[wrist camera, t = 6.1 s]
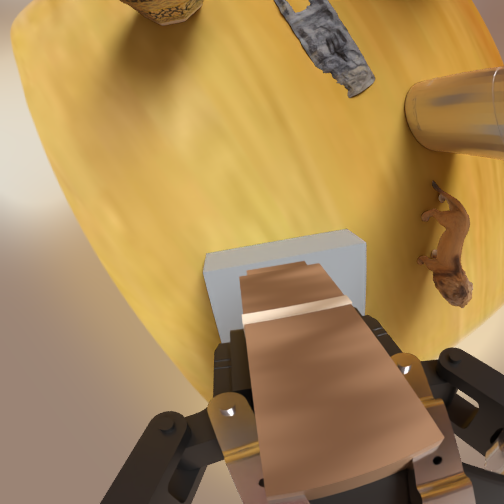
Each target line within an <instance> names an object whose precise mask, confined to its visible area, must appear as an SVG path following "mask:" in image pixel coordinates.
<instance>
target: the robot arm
mask: <svg viewBox="0 0 504 504" xmlns="http://www.w3.org/2000/svg"><path fill="white" fill-rule="evenodd" d="M405 112H406V118H407V122H408V125H409V127H410V130H411V131H412V133H413V135H414V137H415V138H416V139H417V140H418V142H419V143H420V144H422V145H423V146H424V147H426V148H427V149H430V150H433V151H442V152H452V153H459V154H467V155H475V156H481V157H488V158H494V159H500V160H504V66H503V67H496V68H488V69H482V70H476V71H470V72H464V73H459V74H454V75H449V76H444V77H439V78H435V79H430V80H426V81H422V82H419V83H416V84H414V85H413V86H412V87H411V88H410V90H409V92H408V94H407V97H406V102H405ZM354 308H355V310H356V311H357V312H358V314H359V315H360V316H361V318H362V319H363V320H364V322H365V323H366V324H367V326H368V327H369V328H370V330H371V331H372V333H373V334H374V335H375V337H376V338H377V339H378V341H379V342H380V343H381V345H382V346H383V348H384V349H385V350H386V352H387V353H388V355H389V356H390V357H391V359H392V360H393V362H394V363H395V364H396V366H397V367H398V369H399V370H400V371H401V373H402V374H403V376H404V377H405V379H406V380H407V382H408V383H409V384H410V386H411V387H412V389H413V390H414V392H415V393H416V395H417V396H418V398H419V399H420V401H421V402H422V404H423V405H424V407H425V408H426V410H427V411H428V413H429V414H430V416H431V417H432V419H433V420H434V422H435V423H436V425H437V427H438V428H439V430H440V431H441V433H442V434H443V436H444V439H443V441H442V442H441V444H440V445H438V446H436V447H434V448H432V449H431V450H429V451H427V452H425V453H423V454H421V455H419V456H417V457H414V458H413V459H412V460H411V461H410V463H409V464H408V466H407V468H406V469H404V470H401V471H399V472H397V473H394V474H392V475H390V476H387V477H385V478H382V479H379V480H377V481H374V482H371V483H369V484H366V485H363V486H360V487H357V488H354V489H351V490H347V491H344V492H341V493H337V494H334V495H330V496H326V497H322V498H318V499H314V500H309V501H308V500H307V498H306V497H305V495H299V496H294V497H289V498H283V499H277V500H270V501H268V500H267V498H266V493H265V485H264V478H263V471H262V464H261V457H260V449H259V442H258V434H257V426H256V418H255V411H254V403H253V395H252V386H251V378H250V370H249V361H248V353H247V344H246V338H245V333H244V328H243V329H237V330H230V342H227V343H220V344H219V345H218V347H217V349H216V350H215V352H214V389H213V399H212V400H211V401H210V402H209V404H208V407H207V408H206V409H204V410H203V411H201V412H199V413H196V414H194V415H190V416H187V417H183V415H181V414H180V413H177V412H173V411H170V412H169V411H168V412H163V413H160V414H158V415H156V416H155V417H154V418H153V419H152V420H151V421H150V423H149V424H148V426H147V428H146V429H145V431H144V433H143V435H142V436H141V437H140V439H139V441H138V442H137V444H136V446H135V447H134V449H133V451H132V452H131V454H130V455H129V457H128V459H127V460H126V462H125V464H124V465H123V467H122V469H121V470H120V472H119V473H118V475H117V477H116V478H115V480H114V482H113V483H112V485H111V487H110V488H109V490H108V492H107V493H106V495H105V496H104V498H103V500H102V501H101V503H100V504H191V503H192V500H193V498H194V496H195V494H196V491H197V489H198V487H199V484H200V482H201V479H202V477H203V475H204V472H205V470H206V467H207V465H209V464H212V463H215V462H218V461H221V460H225V462H226V465H227V467H228V470H229V472H230V475H231V477H232V479H233V482H234V484H235V486H236V489H237V491H238V493H239V495H240V498H241V500H242V502H243V504H504V375H503V374H501V373H500V372H498V371H496V370H495V369H493V368H492V367H490V366H488V365H487V364H485V363H483V362H482V361H480V360H478V359H477V358H475V357H473V356H471V355H470V354H468V353H466V352H465V351H463V350H461V349H458V348H447V349H445V350H443V351H442V352H441V353H440V356H439V359H438V360H430V361H420V360H419V359H418V358H417V357H416V356H414V355H412V354H409V353H403V352H402V351H401V350H400V349H399V347H398V346H397V345H396V344H395V342H394V341H393V340H392V338H391V337H390V336H389V335H388V334H387V332H386V331H385V330H384V328H382V326H381V325H380V323H379V322H378V321H377V320H376V319H374V318H372V317H371V316H369V315H366V316H362V314H361V313H360V312H359V311H358V309H357V308H356V307H354ZM458 389H459V390H460V391H462V392H464V393H465V394H466V395H468V396H469V397H471V398H473V399H474V400H475V401H476V402H477V403H478V404H479V408H477V407H475V406H474V405H472V404H471V403H469V402H468V401H466V400H465V399H463V398H462V397H460V396H459V395H458V394H456V392H457V390H458ZM454 434H456V435H457V436H458V437H459V438H461V439H462V440H463V441H465V442H466V443H467V444H469V445H470V446H472V447H473V448H474V449H476V450H477V451H478V452H479V453H481V454H482V455H483V456H485V460H486V462H485V465H484V468H485V469H482V468H478V467H475V466H472V465H469V464H466V463H463V462H461V458H460V454H459V450H458V447H457V443H456V439H455V436H454Z"/></svg>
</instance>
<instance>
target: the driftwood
mask: <svg viewBox="0 0 504 504" xmlns="http://www.w3.org/2000/svg"><path fill="white" fill-rule="evenodd" d="M274 1H275V2H276V4H277V5H278V7H279V8H280V11H281V13H282V14H283V15H284V17H285V18H286V20H287V21H288V22H289V24H290V26H291V27H292V29H293V31H294V33H295V34H296V36H297V37H298V38H299V39H300V42H301V44H302V45H303V47H304V49H305V50H306V52H307V54H308V55H309V57H310V59H311V60H312V61H313V62H314V64H315V66H316V67H317V68H319V69H321V70H323V73H331V74H332V77H333V78H334V79H336V80H337V81H338V82H337V83H340V84H341V85H344V86H345V88H346V89H348V97H349V98H351V97H352V96H354V95H357V94H359V93H361V92H362V91H364V90H365V89H366V88H367V87H369V86H370V85H371V84H373V82H374V81H375V77H374V75H373V73H372V72H371V70H370V68H369V66H368V65H367V63H366V61H365V59H364V57H363V55H362V54H361V52H360V50H359V48H358V47H357V45H356V44H355V42H354V41H353V39H352V38H351V36H350V34H349V33H348V31H347V29H346V27H345V26H344V25H343V23H342V22H341V21H340V19H339V18H338V15H337V13H336V11H335V10H334V8H333V7H332V6H331V4H330V3H329V1H327V0H309V2H310V3H311V4H310V5H309V6H307V8H306V9H305V10H303V11H301V12H298V13H295V12H294V11H293V9H292V7H291V6H290V5H289V3H288V2H287V1H286V0H274Z"/></svg>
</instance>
